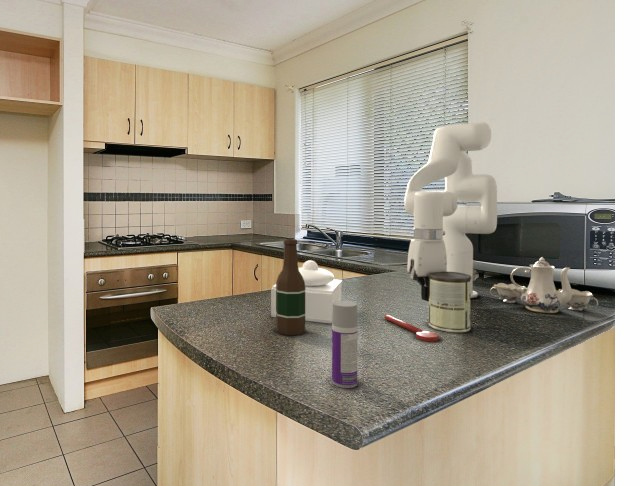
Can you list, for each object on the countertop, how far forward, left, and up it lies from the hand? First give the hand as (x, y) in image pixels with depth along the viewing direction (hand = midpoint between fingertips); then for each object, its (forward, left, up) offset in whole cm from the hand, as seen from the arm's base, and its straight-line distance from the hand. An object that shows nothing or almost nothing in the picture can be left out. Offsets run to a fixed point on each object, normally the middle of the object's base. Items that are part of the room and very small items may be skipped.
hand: (427, 300), depth 123 cm
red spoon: (+5, -10, -6) cm, 13 cm away
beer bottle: (-2, -41, -6) cm, 41 cm away
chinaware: (-3, +44, -6) cm, 45 cm away
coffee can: (+6, +2, -6) cm, 9 cm away
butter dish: (-17, -29, -6) cm, 34 cm away
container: (+30, -43, -6) cm, 53 cm away
